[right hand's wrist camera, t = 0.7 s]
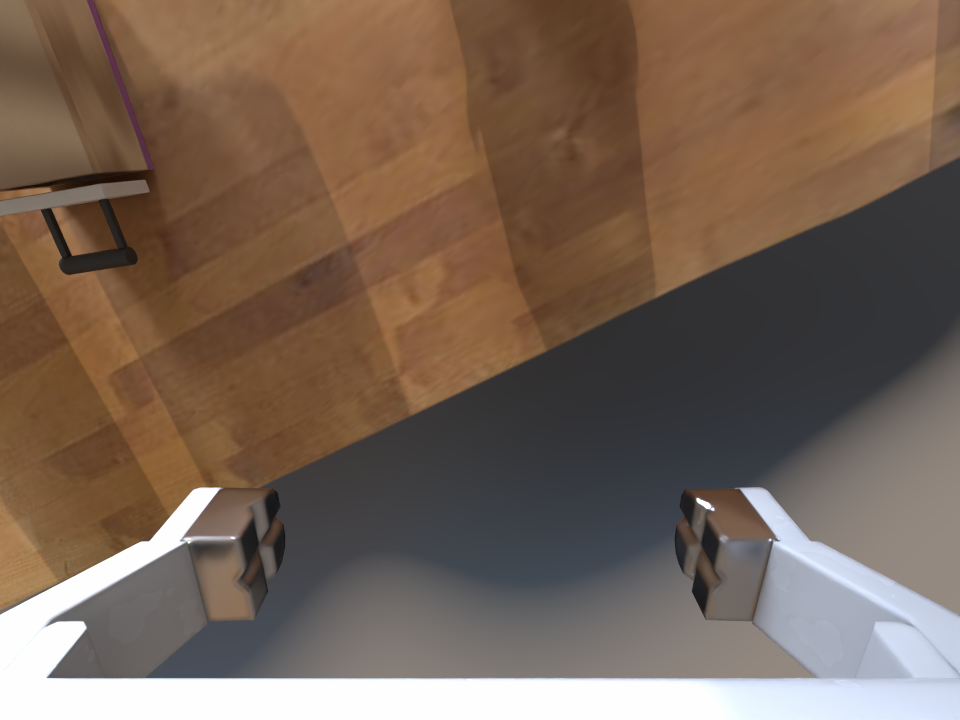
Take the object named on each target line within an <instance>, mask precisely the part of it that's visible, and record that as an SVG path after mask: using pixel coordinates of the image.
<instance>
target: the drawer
mask: <svg viewBox="0 0 960 720" xmlns="http://www.w3.org/2000/svg"><path fill="white" fill-rule="evenodd" d="M148 192H150V191H149V188H148V185H147V183H146V180H135V181H124V182H113V183H102V184H95V185H89V186H83V187H78V188H72V189H66V190H60V191H54V192H48V193H43V194H37V195H31V196H25V197H19V198H13V199H7V200H2V201H0V216H3V215H10V214H17V213H25V212H32V211H39V210H41V212H42V214H43V216H44V218H45V221H46V223H47V225H48V227H49V229H50V232H51V234H52V236H53V238H54V241H55V243H56V245H57V247H58V249H59V252H60V254H61V256H62V258H61V259H60V261H59V266H60V269H61V270H62V272H64V273H65V274H67V275H72V274H78V273H84V272H90V271H96V270H103V269H109V268H115V267H121V266H128V265H134V264H136V262H137V254H136V252H135V251H134V250H133V249H132V248H131V247H127V244H126V241H125V239H124V236H123V234H122V231H121V229H120V226H119V224H118V221H117V219H116V216H115V214H114V212H113V209H112V207H111V204H110V202H109V199H113V198H119V197H125V196H130V195H136V194H142V193H148ZM95 201H99V202H100V205H101V207H102V210H103V212H104V215H105V217H106V220H107V222H108V225H109V227H110V229H111V232H112V234H113V237H114V239H115V242H116V244H117V247H118V248H119V249H113V250H106V251H100V252H94V253H88V254H82V255H76V256H72V255H71V252H70V250H69V248H68V246H67V243H66V241H65V239H64V237H63V234H62V232H61V230H60V228H59V225H58V223H57V221H56V219H55V216H54V214H53V212H52V209H53V208H59V207H65V206H71V205H77V204H83V203H89V202H95Z"/></svg>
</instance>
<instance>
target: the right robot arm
mask: <svg viewBox="0 0 960 720" xmlns="http://www.w3.org/2000/svg"><path fill="white" fill-rule="evenodd" d="M279 508H280V502H279V498H278V493H277V492H276V491H275V490H274V489H263V488H198V489H195V490H193V491H192V492H191V493H190V494H189V496H188V497H187V498H186V499H185V500H184V501H183V503H182V504H181V505H180V506H179V507H178V508H177V510H176V511H175V512H174V513H173V514H172V516H171V517H170V518H169V519H168V520H167V521H166V523H165V524H164V525H163V526H162V527H161V528H160V530H159V531H158V532H157V533H156V534H155V536H154V537H153V538H152V539H151V540H150V541H149V542H140V543H138V544H136V545H134V546H132V547H130V548H128V549H126V550H124V551H122V552H120V553H118V554H116V555H115V556H113V557H111V558H109V559H107V560H105V561H103V562H101V563H99V564H97V565H95V566H93V567H91V568H90V569H88V570H86V571H84V572H82V573H80V574H78V575H76V576H74V577H72V578H70V579H68V580H66V581H65V582H63V583H61V584H59V585H57V586H55V587H53V588H51V589H49V590H47V591H45V592H43V593H41V594H40V595H38V596H36V597H34V598H32V599H30V600H28V601H26V602H24V603H22V604H20V605H18V606H16V607H15V608H13V609H11V610H9V611H7V612H5V613H3V614H1V615H0V720H960V615H958V614H957V613H955V612H953V611H951V610H949V609H947V608H945V607H943V606H941V605H939V604H937V603H935V602H934V601H932V600H930V599H928V598H926V597H924V596H922V595H920V594H918V593H916V592H914V591H912V590H911V589H909V588H907V587H905V586H903V585H901V584H899V583H897V582H895V581H893V580H891V579H889V578H888V577H886V576H884V575H882V574H880V573H878V572H876V571H874V570H872V569H870V568H868V567H866V566H865V565H863V564H861V563H859V562H857V561H855V560H853V559H851V558H849V557H847V556H845V555H843V554H842V553H840V552H838V551H836V550H834V549H832V548H830V547H828V546H826V545H824V544H822V543H820V542H811V541H810V540H809V539H808V538H807V537H806V536H805V534H804V533H803V532H802V531H801V530H800V529H799V527H798V526H797V525H796V524H795V523H794V521H793V520H792V519H791V518H790V517H789V516H788V514H787V513H786V512H785V511H784V510H783V509H782V507H781V506H780V505H779V504H778V503H777V502H776V500H775V499H774V498H773V497H772V496H771V494H770V493H769V492H768V491H767V490H765V489H763V488H761V487H754V488H735V489H685V490H684V492H683V494H682V496H681V502H680V508H681V510H682V512H683V513H684V515H685V517H684V518H683V519H682V520H681V521H680V522H679V523H678V524H677V525H676V532H675V549H676V555H677V559H678V563H679V565H680V567H681V569H682V572H683V574H685V575H686V576H688V577H689V578H690V579H692V580H693V581H694V583H693V588H692V593H693V595H694V597H695V599H696V601H697V603H698V605H699V607H700V609H701V611H702V613H703V615H704V617H705V619H706V620H726V621H753V622H752V624H753V625H755V626H756V627H757V628H758V629H759V630H760V631H762V632H763V633H764V634H765V635H766V636H767V637H769V638H770V639H771V640H772V641H773V642H774V643H776V644H777V645H778V646H779V647H780V648H781V649H782V650H784V651H785V652H786V653H787V654H788V655H789V656H791V657H792V658H793V659H794V660H795V661H796V662H798V663H799V664H800V665H801V666H802V667H803V668H805V669H806V670H807V671H808V672H809V673H810V674H812V675H813V676H814V677H815V678H739V679H738V678H145V677H146V676H147V675H149V674H150V673H151V672H152V671H153V670H154V669H156V668H157V667H158V666H159V665H160V664H161V663H163V662H164V661H165V660H166V659H167V658H168V657H170V656H171V655H172V654H173V653H174V652H175V651H177V650H178V649H179V648H180V647H181V646H182V645H184V644H185V643H186V642H187V641H188V640H189V639H191V638H192V637H193V636H194V635H195V634H196V633H198V632H199V631H200V630H201V629H202V628H203V627H204V626H206V625H207V621H234V620H254V619H255V617H256V615H257V613H258V611H259V609H260V607H261V605H262V603H263V601H264V599H265V597H266V595H267V593H268V589H267V583H266V581H267V580H268V579H270V578H271V577H272V576H274V575H275V574H277V572H278V569H279V567H280V565H281V563H282V559H283V554H284V550H285V531H284V525H283V524H282V523H281V522H280V521H279V520H278V519H277V518H276V517H275V515H276V514H277V512H278V510H279Z"/></svg>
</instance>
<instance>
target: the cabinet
mask: <svg viewBox="0 0 960 720" xmlns="http://www.w3.org/2000/svg"><path fill="white" fill-rule="evenodd" d="M148 170H154V167H153V164H152V161H151V159H150V156H149V153H148V150H147V148H146V145H145V142H144V139H143V137H142V134H141V131H140V128H139V126H138V123H137V120H136V117H135V115H134V112H133V109H132V106H131V104H130V101H129V98H128V95H127V92H126V90H125V87H124V84H123V81H122V79H121V76H120V73H119V70H118V68H117V65H116V62H115V59H114V57H113V54H112V51H111V48H110V46H109V43H108V40H107V37H106V35H105V32H104V29H103V26H102V24H101V21H100V18H99V15H98V13H97V10H96V7H95V4H94V1H93V0H0V192H4V191H15V190H26V189H37V188H49V187H54V186H60V185H66V184H72V183H78V182H83V181H89V180H95V179H101V178H107V177H113V176H118V175H124V174H130V173H136V172H142V171H148Z"/></svg>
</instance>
